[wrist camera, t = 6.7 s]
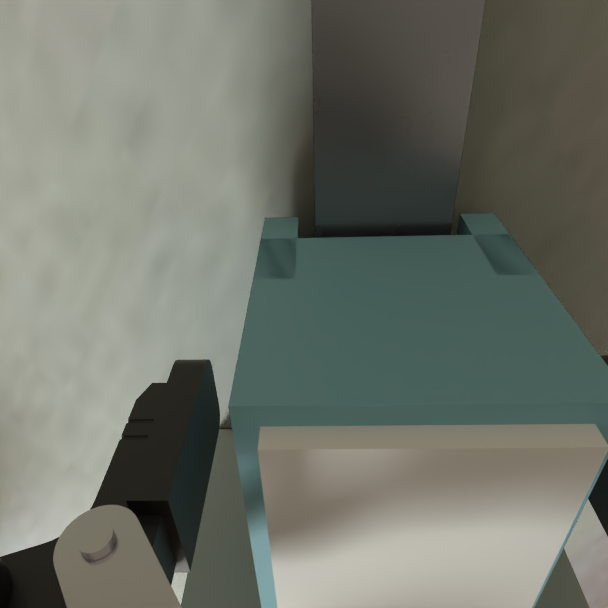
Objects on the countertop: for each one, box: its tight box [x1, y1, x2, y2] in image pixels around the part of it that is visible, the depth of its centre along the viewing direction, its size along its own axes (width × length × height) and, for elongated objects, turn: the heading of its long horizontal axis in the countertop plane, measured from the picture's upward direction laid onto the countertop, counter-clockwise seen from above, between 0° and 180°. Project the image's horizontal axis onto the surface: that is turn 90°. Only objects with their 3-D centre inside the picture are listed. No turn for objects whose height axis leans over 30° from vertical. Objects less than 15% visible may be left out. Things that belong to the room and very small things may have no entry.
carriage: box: [228, 213, 608, 608], centre depth 11 cm, size 6×5×6 cm
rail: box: [311, 0, 486, 238], centre depth 12 cm, size 16×3×2 cm, turn 2°
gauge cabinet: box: [181, 429, 589, 608], centre depth 15 cm, size 6×11×8 cm, turn 92°
